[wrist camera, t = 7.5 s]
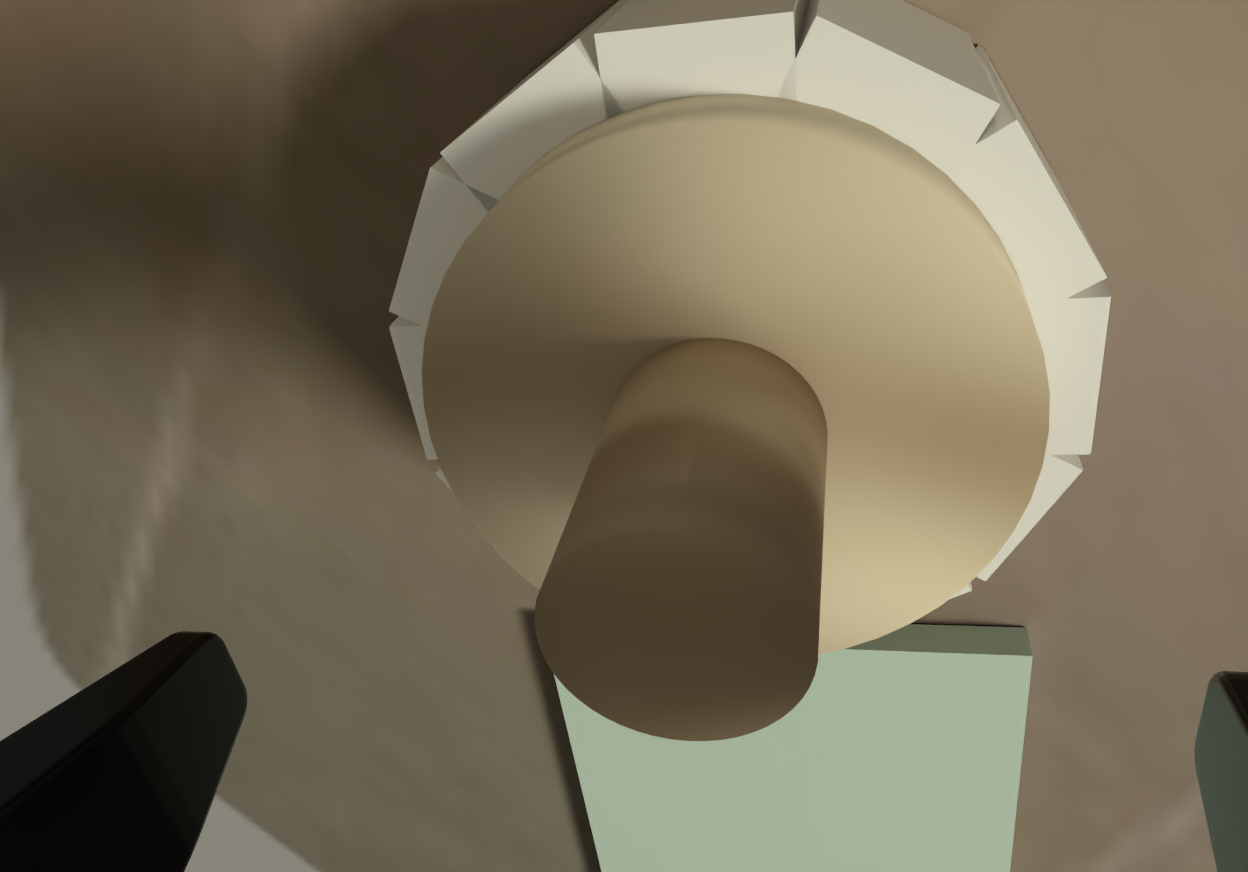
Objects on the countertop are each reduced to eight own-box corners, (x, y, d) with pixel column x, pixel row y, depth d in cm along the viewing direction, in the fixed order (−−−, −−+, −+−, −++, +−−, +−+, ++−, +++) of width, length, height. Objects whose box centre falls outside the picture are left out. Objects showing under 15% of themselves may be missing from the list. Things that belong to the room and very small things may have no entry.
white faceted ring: (1028, 499, 18) (1065, 653, 15) (536, 498, 21) (476, 632, 17) (1080, -74, 13) (1152, -29, 10) (425, 7, 16) (313, 65, 12)
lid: (1013, 612, 15) (1074, 925, 11) (511, 599, 17) (401, 861, 13) (1062, 60, 11) (1188, 227, 7) (388, 124, 13) (165, 286, 9)
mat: (997, 919, 25) (1001, 950, 25) (616, 883, 28) (610, 910, 27) (1026, 627, 20) (1032, 655, 19) (554, 613, 22) (545, 638, 22)
